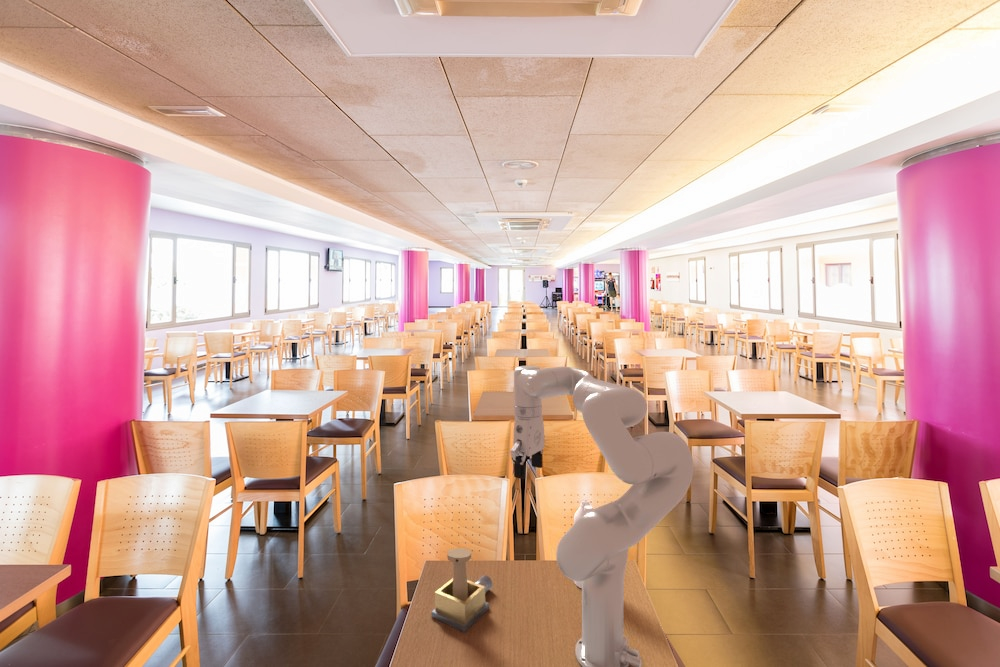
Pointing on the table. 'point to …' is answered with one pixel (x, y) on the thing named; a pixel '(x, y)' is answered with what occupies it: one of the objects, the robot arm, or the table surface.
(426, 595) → the table surface
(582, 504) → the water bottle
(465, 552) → the handle
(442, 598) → the socket
